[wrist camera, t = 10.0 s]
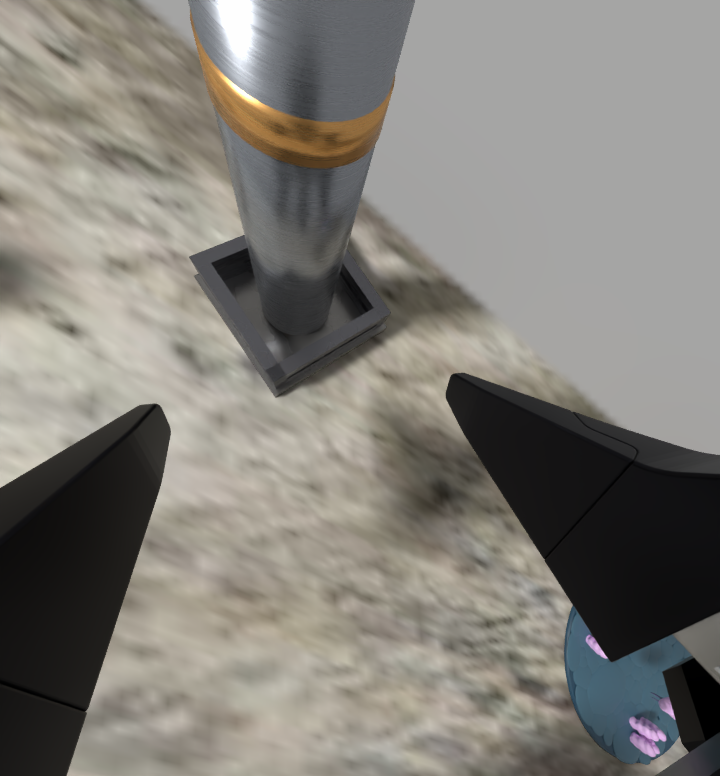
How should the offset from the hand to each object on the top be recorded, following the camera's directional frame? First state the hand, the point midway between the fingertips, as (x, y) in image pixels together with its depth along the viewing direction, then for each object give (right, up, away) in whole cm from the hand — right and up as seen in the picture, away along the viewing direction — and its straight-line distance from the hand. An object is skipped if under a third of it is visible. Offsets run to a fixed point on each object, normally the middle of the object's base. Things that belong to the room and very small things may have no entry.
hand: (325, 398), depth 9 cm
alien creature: (+21, -19, +12) cm, 30 cm away
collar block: (-3, +6, +10) cm, 12 cm away
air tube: (-3, +6, +9) cm, 12 cm away
